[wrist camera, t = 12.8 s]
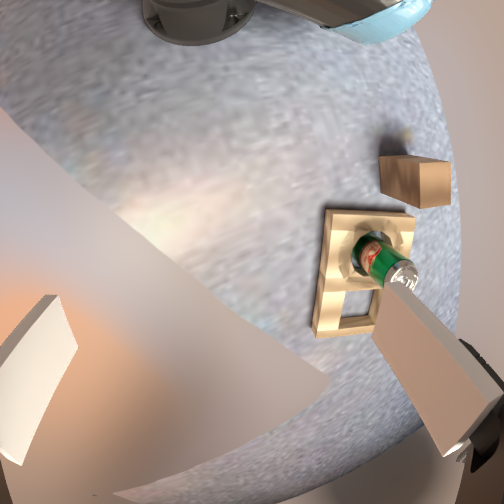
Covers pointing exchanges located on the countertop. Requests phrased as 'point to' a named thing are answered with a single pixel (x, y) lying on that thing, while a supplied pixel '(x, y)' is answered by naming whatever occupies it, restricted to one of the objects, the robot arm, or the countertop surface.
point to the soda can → (384, 262)
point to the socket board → (345, 275)
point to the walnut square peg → (416, 180)
